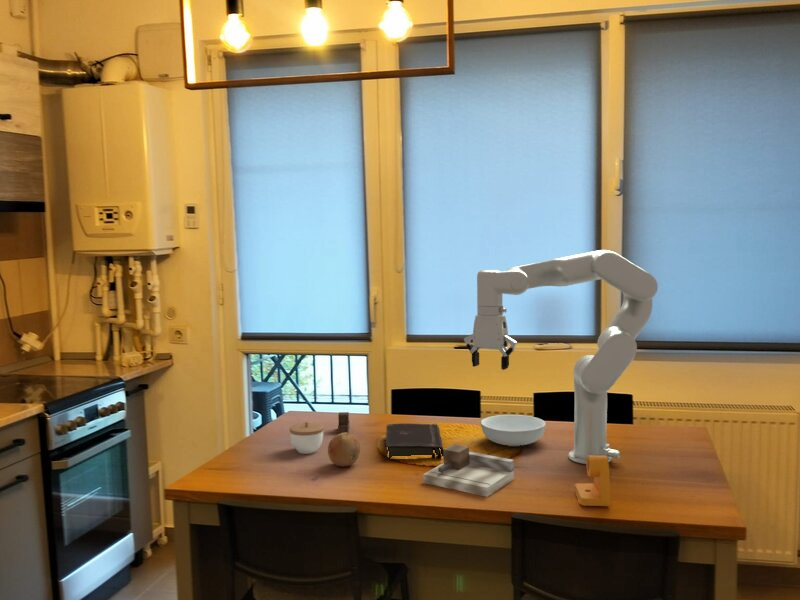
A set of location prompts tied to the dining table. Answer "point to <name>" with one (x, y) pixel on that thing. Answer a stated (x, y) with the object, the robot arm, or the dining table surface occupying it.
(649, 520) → the dining table surface
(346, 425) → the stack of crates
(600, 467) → the bracket
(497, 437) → the serving bowl
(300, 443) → the lidded jar
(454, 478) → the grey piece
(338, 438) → the onion
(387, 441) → the diary
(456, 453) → the block
